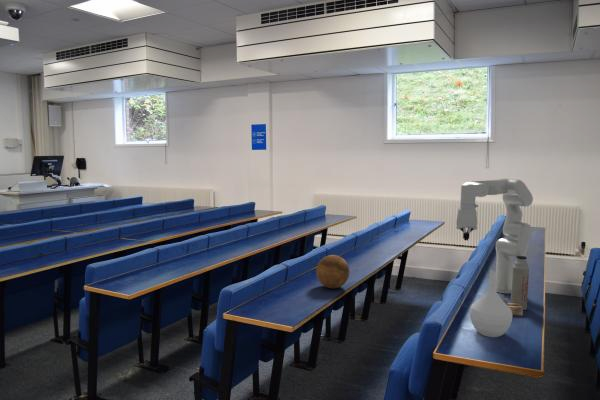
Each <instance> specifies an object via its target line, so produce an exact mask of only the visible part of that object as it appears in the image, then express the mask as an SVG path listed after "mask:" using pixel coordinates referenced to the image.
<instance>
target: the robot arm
mask: <svg viewBox="0 0 600 400" xmlns="http://www.w3.org/2000/svg"><path fill="white" fill-rule="evenodd" d="M527 186H528V185H526V184H525V182H523V180H521V179H514V178H500V179H489V180H488V179H487V180H486V179H485V180H474V181H473V180H472V181H467V182H465V183H462V184H461V187H460V206H459V207H460V208H458V210H457V216H456V227H455V228H456V230H460V231H461V232H462V239H464V241H469V240H470V234H471V233H472V232H473V231H476V230H478V227H477V226H478V212H477V209H476V208H479V205H478V204H476V197H478V198H484V197H486V196H497V195H502V200H503V201H502V202H504V205H505V207H506V215H505V219H504V223H503V227H502V234H503V235H504V236H506V237H507V238H506V237H502V238H499V239H497V240H496V242H495V252H496V265H495V271H496V292H497V293H500V294H511V290H512V273H513V266H514V265H515V264H514V263H515V261H514V258H517V256H525V257H526V254H527V253H528V249H529V246H530V242H531V238H532V234H533V233H532V232H533V229H532V226H531V225H530V224H529V223H527V222H522V218H523V211H522V208H521V207H525V208H526V207H529V206H531V205H532V204H533V201H534V197H533V194H532V192H531V191H530V189H529V188H528V187H527ZM466 229H467V230H466ZM508 237H510V238H508ZM512 238H514V239H512ZM516 239H517V240H516ZM513 257H514V258H513Z"/></svg>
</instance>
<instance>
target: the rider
mask: <svg viewBox="0 0 600 400" xmlns="http://www.w3.org/2000/svg"><path fill="white" fill-rule="evenodd" d="M500 298H501V299H502V300H503V301H504V303H505V304H506V305H507V303H509V302H508V298H507V297H505V296H500Z"/></svg>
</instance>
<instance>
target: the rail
mask: <svg viewBox="0 0 600 400" xmlns="http://www.w3.org/2000/svg"><path fill="white" fill-rule="evenodd" d="M507 306H508V307H509V308H510V309H511V311H512V316H523V315H524V311H523V307H522V306H521V305H520V304H516V303H511V302H507Z"/></svg>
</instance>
